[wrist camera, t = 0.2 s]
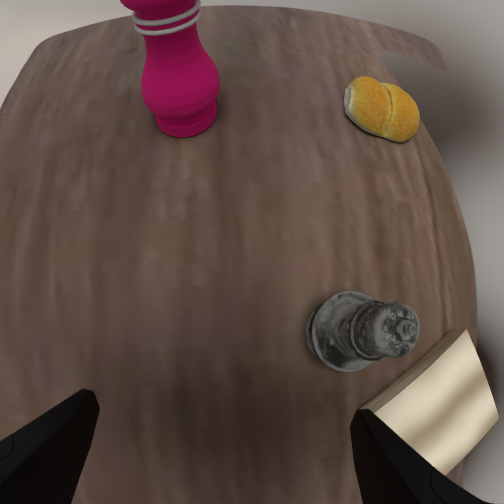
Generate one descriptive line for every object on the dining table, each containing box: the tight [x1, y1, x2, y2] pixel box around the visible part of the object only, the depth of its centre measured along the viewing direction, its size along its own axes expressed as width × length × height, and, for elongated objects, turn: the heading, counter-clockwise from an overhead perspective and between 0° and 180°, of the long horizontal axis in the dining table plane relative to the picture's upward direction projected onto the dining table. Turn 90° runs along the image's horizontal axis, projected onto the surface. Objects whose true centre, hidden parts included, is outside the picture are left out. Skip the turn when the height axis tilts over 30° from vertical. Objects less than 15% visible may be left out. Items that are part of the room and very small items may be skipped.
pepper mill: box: [120, 0, 220, 138], centre depth 19 cm, size 7×7×20 cm
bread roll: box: [344, 76, 420, 142], centre depth 28 cm, size 8×9×4 cm
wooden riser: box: [360, 329, 499, 475], centre depth 20 cm, size 12×12×2 cm
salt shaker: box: [306, 291, 420, 372], centre depth 18 cm, size 6×6×12 cm
